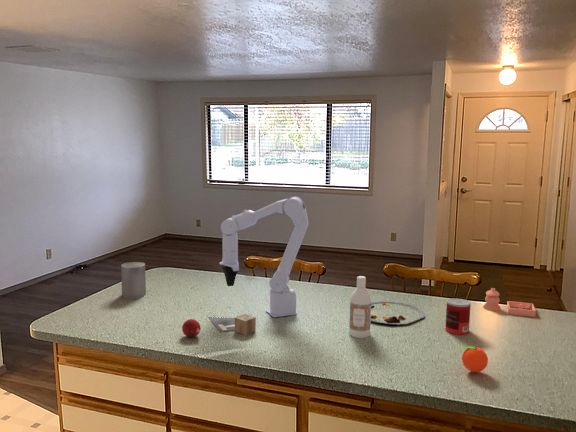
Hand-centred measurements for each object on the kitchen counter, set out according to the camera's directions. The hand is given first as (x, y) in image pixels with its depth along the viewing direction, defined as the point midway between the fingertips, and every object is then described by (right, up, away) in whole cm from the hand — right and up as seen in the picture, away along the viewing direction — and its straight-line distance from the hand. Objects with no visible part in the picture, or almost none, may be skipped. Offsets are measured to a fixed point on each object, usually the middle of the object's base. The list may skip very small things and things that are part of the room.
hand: (230, 285), depth 190 cm
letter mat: (0, -12, -9) cm, 15 cm away
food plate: (+60, -12, -2) cm, 61 cm away
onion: (-13, -10, -21) cm, 27 cm away
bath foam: (+46, -14, -21) cm, 52 cm away
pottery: (+106, -12, +2) cm, 106 cm away
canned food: (+80, -14, -18) cm, 83 cm away
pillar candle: (-43, -8, +20) cm, 48 cm away
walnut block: (+5, -10, -18) cm, 21 cm away
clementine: (+74, -18, -47) cm, 90 cm away
